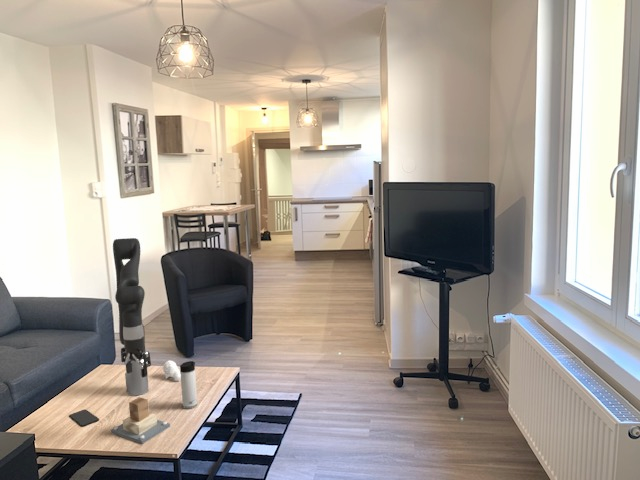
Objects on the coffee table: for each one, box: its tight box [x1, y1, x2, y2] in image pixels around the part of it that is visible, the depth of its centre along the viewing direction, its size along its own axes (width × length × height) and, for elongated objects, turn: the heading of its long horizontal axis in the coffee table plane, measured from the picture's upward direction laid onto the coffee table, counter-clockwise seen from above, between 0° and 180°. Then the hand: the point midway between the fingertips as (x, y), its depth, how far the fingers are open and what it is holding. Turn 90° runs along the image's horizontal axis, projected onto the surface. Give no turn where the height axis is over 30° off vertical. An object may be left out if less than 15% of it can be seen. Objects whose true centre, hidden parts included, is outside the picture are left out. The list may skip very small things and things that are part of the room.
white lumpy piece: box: [162, 360, 181, 382], centre depth 240 cm, size 6×8×12 cm
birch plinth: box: [122, 412, 158, 435], centre depth 192 cm, size 9×9×4 cm
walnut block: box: [128, 396, 150, 422], centre depth 191 cm, size 5×5×7 cm
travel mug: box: [179, 360, 198, 410], centre depth 210 cm, size 6×7×20 cm
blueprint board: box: [110, 419, 171, 445], centre depth 192 cm, size 18×14×2 cm
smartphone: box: [68, 409, 100, 428], centre depth 203 cm, size 7×1×15 cm
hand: (137, 374), depth 191 cm, fingers open, 8 cm apart
